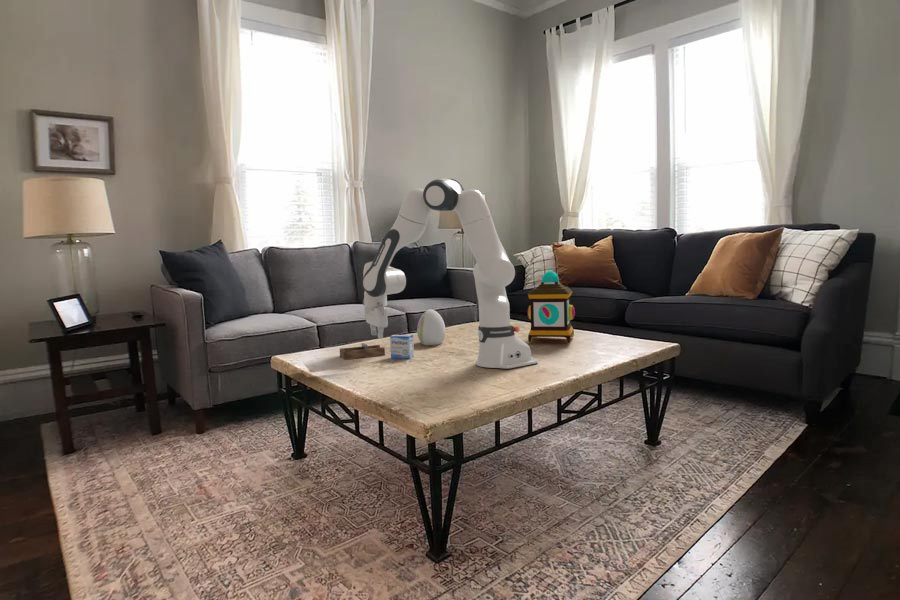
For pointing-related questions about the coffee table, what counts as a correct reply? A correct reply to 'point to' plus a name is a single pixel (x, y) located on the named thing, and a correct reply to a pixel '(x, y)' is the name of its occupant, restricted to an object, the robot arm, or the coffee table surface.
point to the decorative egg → (431, 328)
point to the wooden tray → (362, 352)
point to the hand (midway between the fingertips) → (377, 336)
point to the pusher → (364, 346)
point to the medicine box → (402, 346)
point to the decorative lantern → (550, 309)
